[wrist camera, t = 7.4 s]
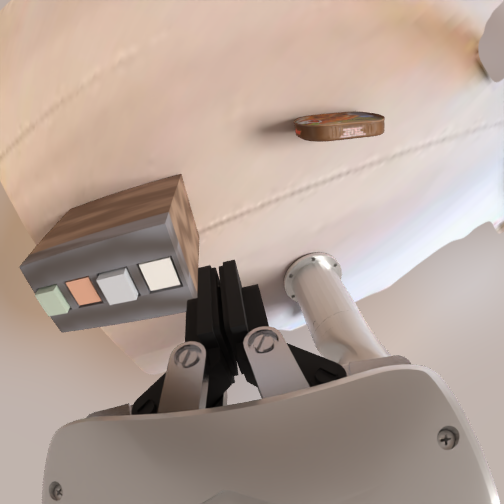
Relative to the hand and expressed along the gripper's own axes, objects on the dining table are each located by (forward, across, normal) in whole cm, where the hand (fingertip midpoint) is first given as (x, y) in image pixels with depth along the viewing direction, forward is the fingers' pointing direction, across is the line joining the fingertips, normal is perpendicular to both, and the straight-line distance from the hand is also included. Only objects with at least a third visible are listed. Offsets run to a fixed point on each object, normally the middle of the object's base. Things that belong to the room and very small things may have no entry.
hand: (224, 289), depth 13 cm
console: (+35, +17, +9) cm, 40 cm away
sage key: (+18, +25, +9) cm, 32 cm away
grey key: (+18, +14, +9) cm, 24 cm away
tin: (+35, -20, -1) cm, 41 cm away
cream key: (+19, +9, +9) cm, 22 cm away
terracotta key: (+19, +20, +9) cm, 29 cm away
